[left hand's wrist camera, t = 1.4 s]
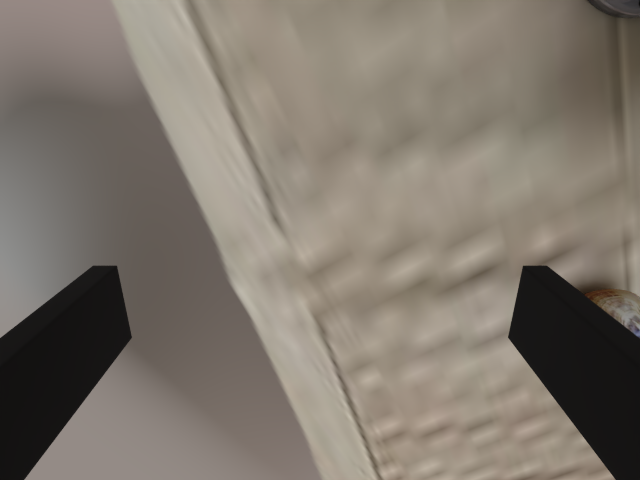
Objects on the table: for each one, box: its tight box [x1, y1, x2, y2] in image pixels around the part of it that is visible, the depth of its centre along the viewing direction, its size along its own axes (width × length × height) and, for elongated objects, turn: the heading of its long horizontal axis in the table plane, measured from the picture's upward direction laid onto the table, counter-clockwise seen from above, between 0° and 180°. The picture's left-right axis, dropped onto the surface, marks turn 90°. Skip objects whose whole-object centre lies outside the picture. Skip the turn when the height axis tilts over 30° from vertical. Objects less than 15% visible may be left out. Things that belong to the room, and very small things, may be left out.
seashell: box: [584, 289, 640, 338], centre depth 47 cm, size 10×6×8 cm, turn 115°
